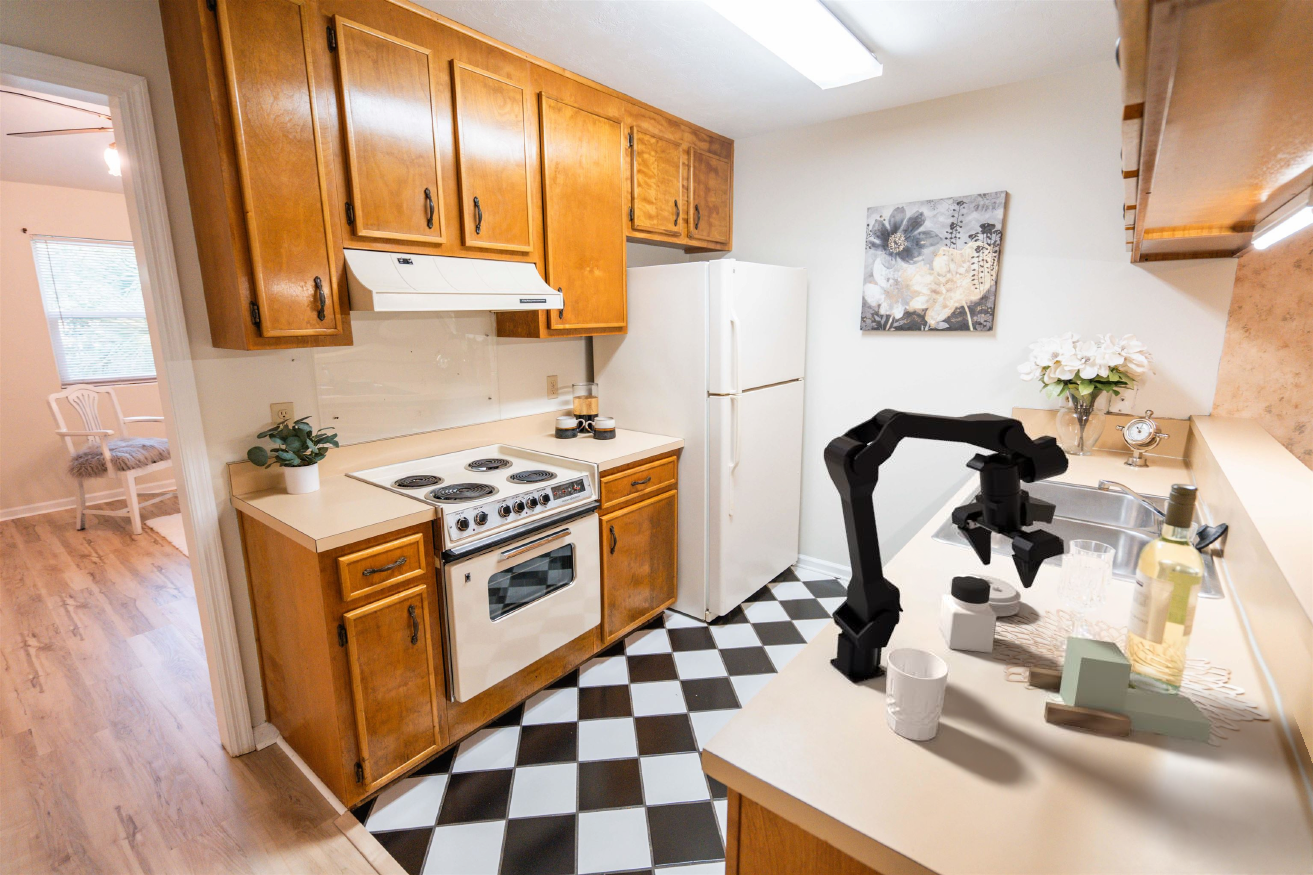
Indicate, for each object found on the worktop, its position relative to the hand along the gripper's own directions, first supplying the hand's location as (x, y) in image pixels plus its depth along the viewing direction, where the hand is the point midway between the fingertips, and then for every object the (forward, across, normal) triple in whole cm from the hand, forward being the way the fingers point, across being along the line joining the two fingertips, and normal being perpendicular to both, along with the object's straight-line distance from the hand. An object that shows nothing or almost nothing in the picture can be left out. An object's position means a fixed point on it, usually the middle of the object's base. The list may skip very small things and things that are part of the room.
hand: (1006, 575), depth 101 cm
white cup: (+9, -14, +28) cm, 33 cm away
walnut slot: (+14, -15, +2) cm, 21 cm away
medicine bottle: (+14, +4, +6) cm, 16 cm away
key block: (+16, -18, -4) cm, 24 cm away
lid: (+17, +16, -7) cm, 24 cm away
